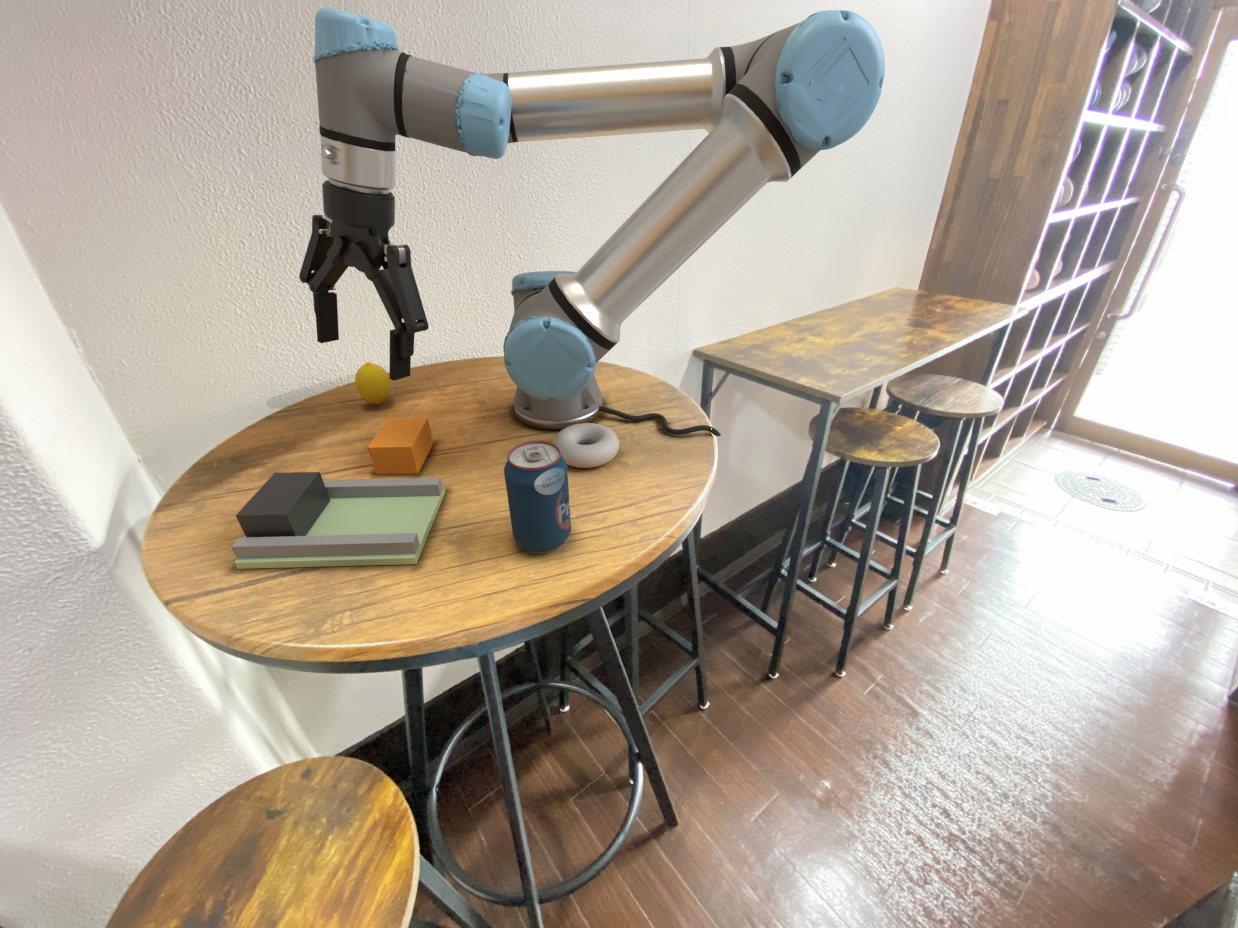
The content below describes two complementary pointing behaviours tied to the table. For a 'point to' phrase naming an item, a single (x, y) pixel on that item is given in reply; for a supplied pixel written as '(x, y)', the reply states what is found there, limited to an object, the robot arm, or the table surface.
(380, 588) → the table surface
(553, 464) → the soda can
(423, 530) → the board
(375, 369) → the lemon
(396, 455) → the matte orange brick
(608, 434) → the donut
